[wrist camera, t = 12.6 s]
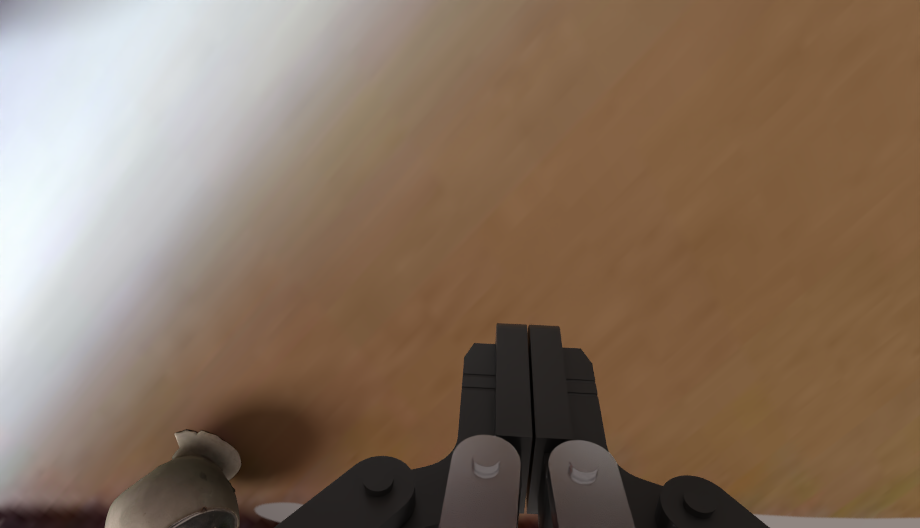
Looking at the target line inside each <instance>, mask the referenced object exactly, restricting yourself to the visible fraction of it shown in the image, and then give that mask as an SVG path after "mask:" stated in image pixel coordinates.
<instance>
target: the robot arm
mask: <svg viewBox="0 0 920 528" xmlns="http://www.w3.org/2000/svg"><path fill="white" fill-rule="evenodd" d="M525 498H526V502H527V514H538V520H539V528H769V527H768V526H766V525H765V524H764V523H763V522H762V521H760V520H759V519H758V518H757V517H756V516H754V515H753V514H752V513H751V512H749V511H748V510H747V509H746V508H745V507H743V506H742V505H741V504H740V503H738V502H737V501H736V500H735V499H733V498H732V497H731V496H730V495H729V494H727V493H726V492H725V491H724V490H722V489H721V488H720V487H718V486H717V485H716V484H714V483H712V482H710V481H708V480H706V479H703V478H700V477H696V476H678V477H675V478H672V479H670V480H669V481H668V482H666V483H665V485H664V486H661V485H658V484H655V483H652V482H649V481H646V480H643V479H640V478H638V477H635V476H633V475H631V474H629V473H628V472H626V471H625V470H623V469H622V468H621V467H620V466H619V465H618V464H617V463H616V461H615V459H614V458H613V457H612V455H611V454H610V453H609V451H608V449H607V445H606V439H605V434H604V428H603V422H602V417H601V411H600V405H599V400H598V397H597V389H596V384H595V377H594V372H593V366H592V363H591V362H590V360H589V359H588V358H587V356H586V355H585V354H584V352H583V351H582V350H581V349H578V348H562V343H561V334H560V328H559V326H544V325H529V326H528V333H527V325H521V324H502V323H497V327H496V342H495V344H480V343H474V344H473V346H472V347H471V349H470V350H469V351H468V353H467V354H466V356H465V357H464V368H463V381H462V393H461V405H460V418H459V430H458V439H457V443H456V446H455V447H454V449H453V451H452V452H451V453H450V454H449V455H448V456H447V457H446V458H444V459H443V460H441V461H440V462H438V463H435V464H433V465H430V466H426V467H422V468H417V469H413V470H411V469H410V468H409V467H408V466H407V465H406V464H405V463H404V462H402V461H401V460H398V459H396V458H393V457H388V456H376V457H371V458H368V459H365V460H363V461H361V462H359V463H358V464H356V465H355V466H353V467H352V468H351V469H349V470H348V471H347V472H346V473H344V474H343V475H342V476H340V477H339V478H338V479H337V480H335V481H334V482H333V483H331V484H330V485H329V486H327V487H326V488H325V489H324V490H322V491H321V492H320V493H318V494H317V495H316V496H315V497H313V498H312V499H311V500H309V501H308V502H307V503H306V504H304V505H303V506H302V507H300V508H299V509H298V510H296V511H295V512H294V513H293V514H291V515H290V516H289V517H287V518H286V519H285V520H284V521H282V522H281V523H280V524H278V525H277V526H276V527H274V528H517V526H518V517H519V513H524V507H525Z"/></svg>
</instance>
